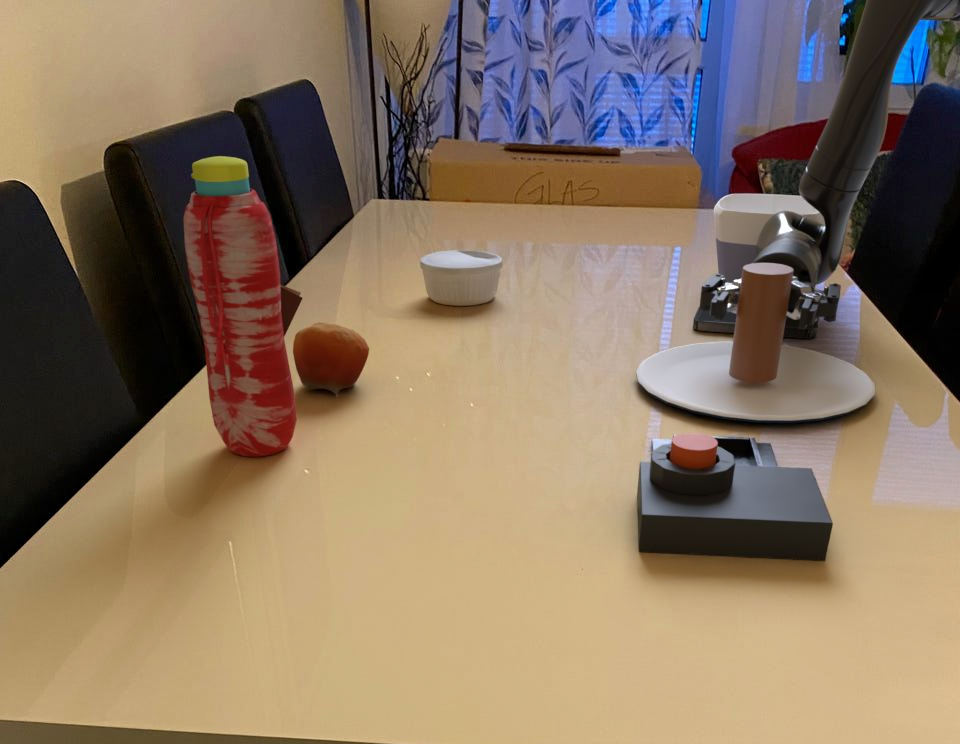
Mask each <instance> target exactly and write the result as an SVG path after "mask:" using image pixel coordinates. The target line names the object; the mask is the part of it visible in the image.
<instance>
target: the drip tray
mask: <svg viewBox="0 0 960 744" xmlns="http://www.w3.org/2000/svg"><path fill="white" fill-rule="evenodd" d="M676 435H677V434H673V435H672V438H673V437H674V436H676ZM710 436H711V437H713V438H715V439H716V440H717V442H718V447H721V448H723V449H724V450H726V451H728V452H729V453H731V454H733V456H734V460H735V465H740V466H766V467H779V465H778V462H777V459H776V456H775V453H774V449H773V447H772V443H771V442H757V440H756V437H752V436H751V437H748V436H722V435H721V436H720V435H719V436H718V435H710ZM672 438H671V439H667V438H651V444H650V445H651V452H652V451H654V450H655V449H657V448H658V447H660V446H661V445H665V444H670V443H671V442H672Z"/></svg>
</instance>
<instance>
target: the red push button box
mask: <svg viewBox="0 0 960 744" xmlns="http://www.w3.org/2000/svg"><path fill="white" fill-rule="evenodd" d="M670 452H671V443H670V444H665V445H661V446H660V447H658V448H657V449H655V450H654V451H652V450H651V453H650V461H639V466H638V467H639V468H638V477H637V479H638V481H637V492H636V507H637V508H636V510H637V513H636V514H637V540H638V541H637V543H638V544H637V545H638V546H637V547H638V552H639V553H655V554H657V553H659V554H675V555H678V554H680V555H696V556H698V555H699V556H719V557H739V558H757V559H758V558H759V559H760V558H761V559H778V560H779V559H781V560H782V559H783V560H801V561H821V562H823V561H826V558H827V554H828V548H829V544H830V540H831V534H832V530H833V526H834V522H833V519H832V518H831V515H830V512H829V510H828V507H827V503H826V502H825V499H824V497H823V494H822V491H821V489H820V487H819V484H818V482H817V479H816V475H815V474H814V472H813V471H814V470H813V468H812V467H792V466H791V467H788V466H778V467H766V466H740V465H735V460H734V456H733V454H731V453H729V452H728V451H726V450H724V449H723V448H721V447H717V455H716V463H715V465H714V466H712V467H707V468H702V469H700V468H686V467H682V466H678V465H675V464H673V463H672V462H670Z"/></svg>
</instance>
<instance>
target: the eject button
mask: <svg viewBox="0 0 960 744" xmlns="http://www.w3.org/2000/svg"><path fill="white" fill-rule="evenodd" d="M675 435H676V436H674V437H673V436H672V438H671V440H672V442H671V452H670V462H672V463H673V464H675V465H678V466H682V467H686V468H700V469H702V468H707V467H712V466H714V465H715V463H716V455H717V447H718V442H717V440H716V439H715V438H713V437H711V436H712V435H708V434H704V433H698V432H685V433H679V434H675Z"/></svg>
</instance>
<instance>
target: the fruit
mask: <svg viewBox="0 0 960 744" xmlns="http://www.w3.org/2000/svg"><path fill="white" fill-rule="evenodd" d="M292 354H293V360H294V365H295V369H296V372H297V375H298V378H299V381H300V382H301V384H302V386H303V387H304V390H305V393H307V392H309V391H312V390H317V389H321V390H322V389H324V390H327V391H330V392H332V393H334V394H335V398H336V399H339V392H340V391H341V390H343V389H344V390H345V389H347V388H353V386H354V385H355V384H356V383H357V381H358V380H359V378H360V376H361V375H362V371H363V370H364V368H365V365H366V363H367V361H368V357H369V354H370V347H369V345H368V343H367V341H366V339H365V338H364V337H363V336H362V335H361V334H359V333H358V332H357V331H355V330H354V329H352V328H348V327H345V326H342V325H339V324H335V323H328V322H315V323H313V324H311V325H310V326H307V327H305V328H302V329H300V330H298V331H297V332H296V333H295V335H294V340H293V346H292Z"/></svg>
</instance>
